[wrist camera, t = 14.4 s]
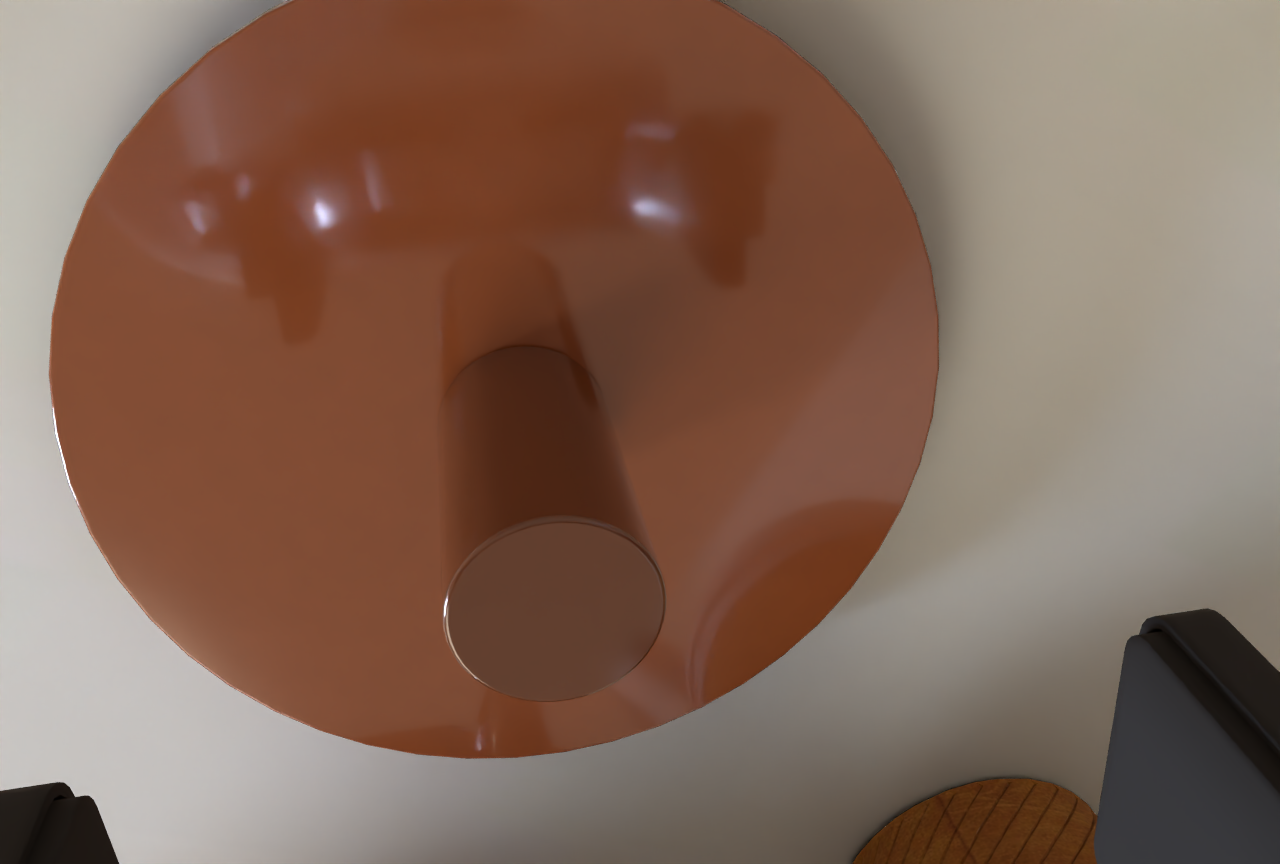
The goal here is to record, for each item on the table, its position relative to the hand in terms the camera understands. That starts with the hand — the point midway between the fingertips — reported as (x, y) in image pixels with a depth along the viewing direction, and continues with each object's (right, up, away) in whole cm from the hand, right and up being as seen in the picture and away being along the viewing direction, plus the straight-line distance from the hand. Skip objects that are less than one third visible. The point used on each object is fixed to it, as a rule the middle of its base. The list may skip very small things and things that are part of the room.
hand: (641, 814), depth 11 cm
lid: (-2, +4, +8) cm, 9 cm away
